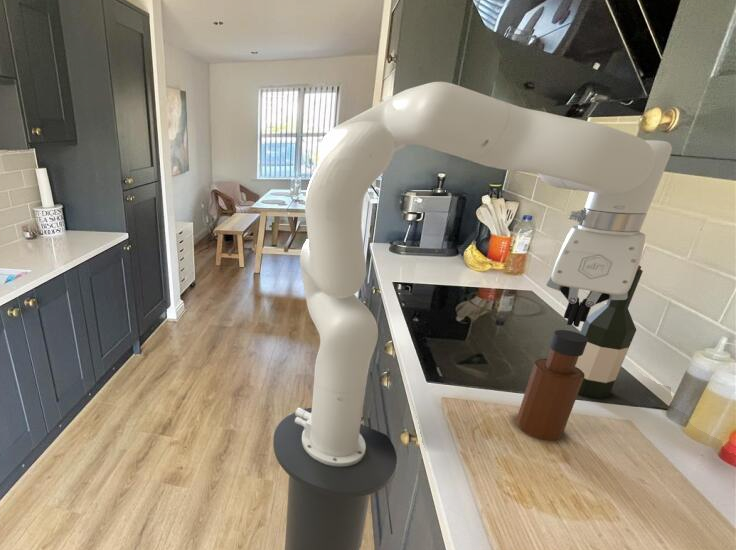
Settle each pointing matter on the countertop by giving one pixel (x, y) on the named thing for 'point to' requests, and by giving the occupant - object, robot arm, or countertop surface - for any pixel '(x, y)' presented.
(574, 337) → the bung
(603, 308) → the wine bottle
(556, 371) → the brown bottle
